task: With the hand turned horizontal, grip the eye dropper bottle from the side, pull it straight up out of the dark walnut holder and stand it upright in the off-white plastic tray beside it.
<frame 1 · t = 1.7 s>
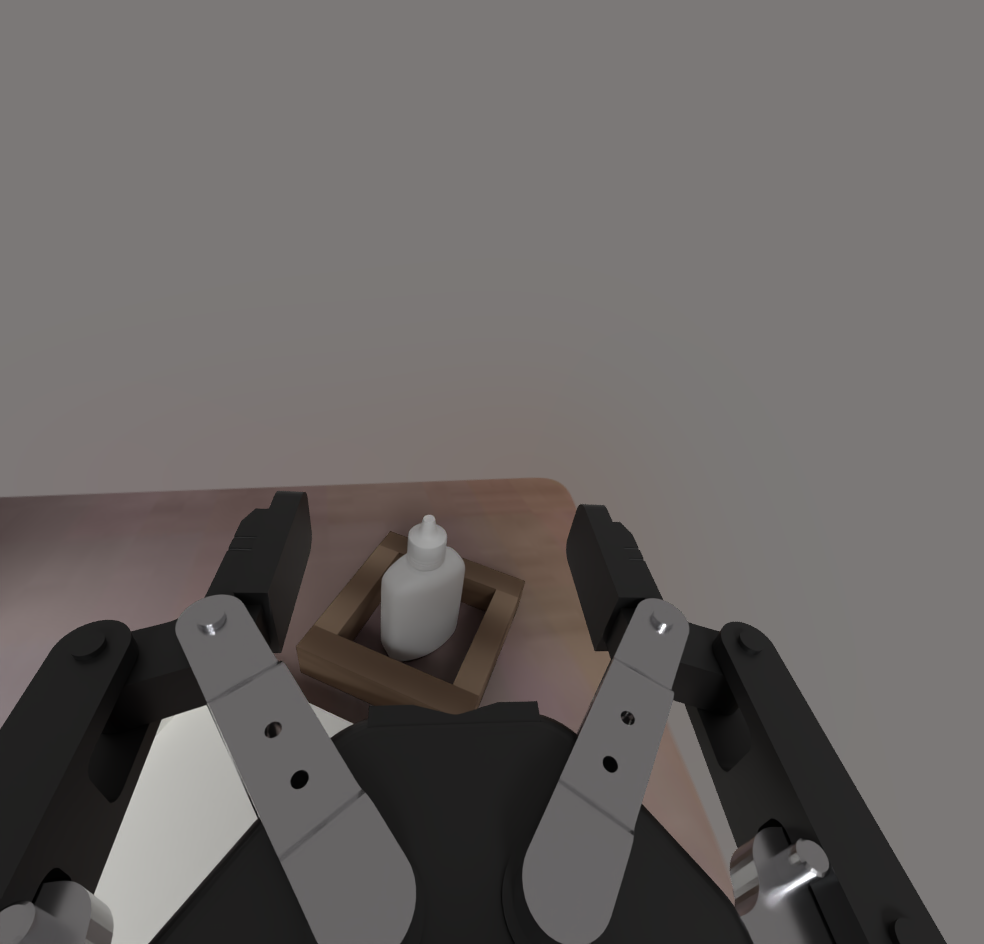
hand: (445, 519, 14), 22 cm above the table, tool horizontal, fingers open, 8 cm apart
walnut holder: (420, 635, 36), on the table
tray: (221, 865, 24), on the table
eye dropper bottle: (419, 638, 36), resting in walnut holder
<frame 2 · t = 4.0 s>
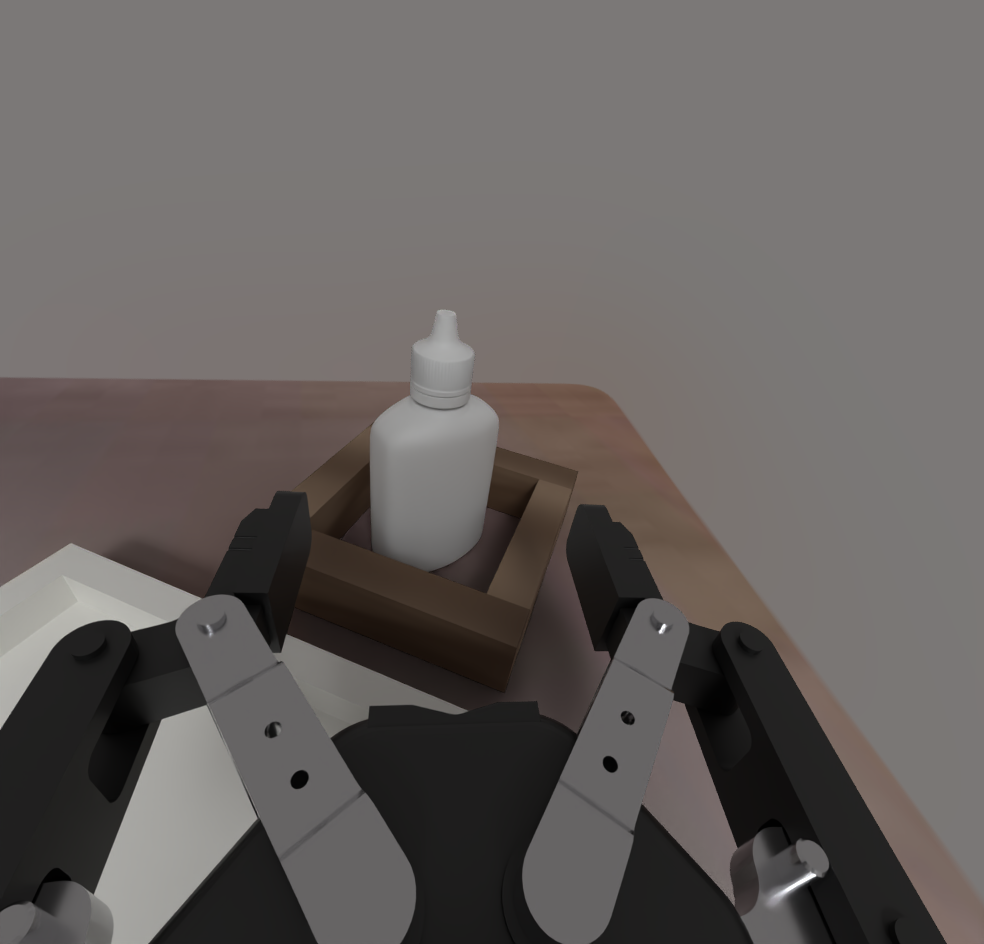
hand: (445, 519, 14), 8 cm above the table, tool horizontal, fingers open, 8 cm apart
walnut holder: (430, 544, 24), on the table
tray: (61, 901, 12), on the table
eye dropper bottle: (428, 548, 24), resting in walnut holder
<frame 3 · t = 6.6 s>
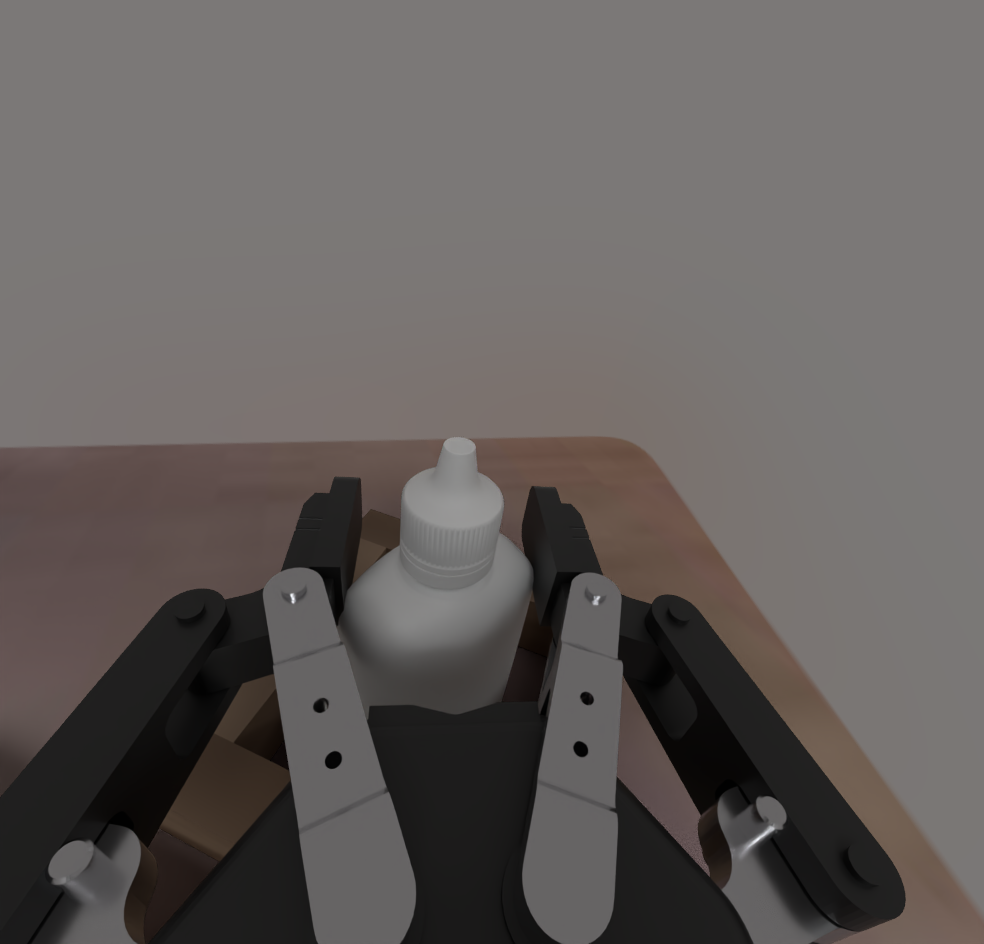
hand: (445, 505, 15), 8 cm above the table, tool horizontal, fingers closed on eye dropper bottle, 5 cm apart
walnut holder: (430, 716, 17), on the table
eye dropper bottle: (427, 722, 17), resting in walnut holder, touching gripper
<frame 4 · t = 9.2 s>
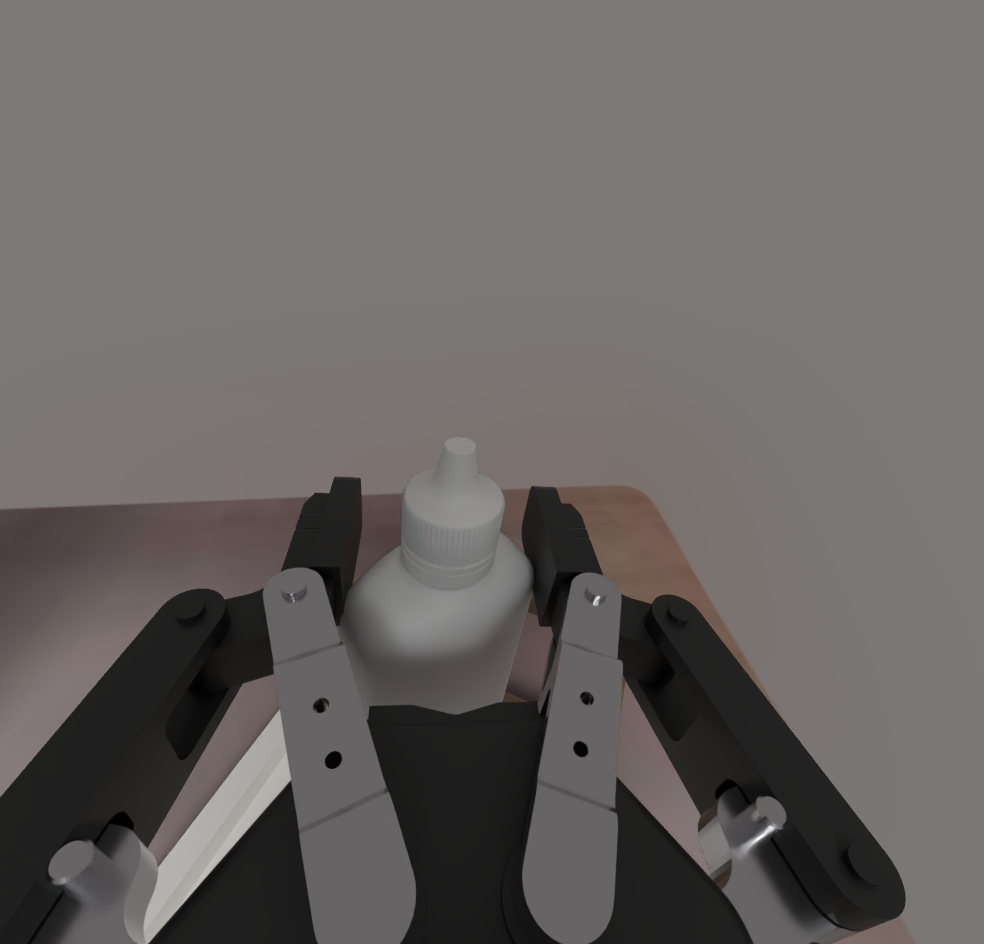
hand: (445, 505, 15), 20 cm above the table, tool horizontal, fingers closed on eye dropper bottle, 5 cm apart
walnut holder: (526, 663, 32), on the table
tray: (354, 943, 21), on the table
eye dropper bottle: (428, 722, 17), point 11 cm above the table, touching gripper
when the fingers open (10 cm above the table, at t = 12.2 s): eye dropper bottle stays where it is, resting on tray.
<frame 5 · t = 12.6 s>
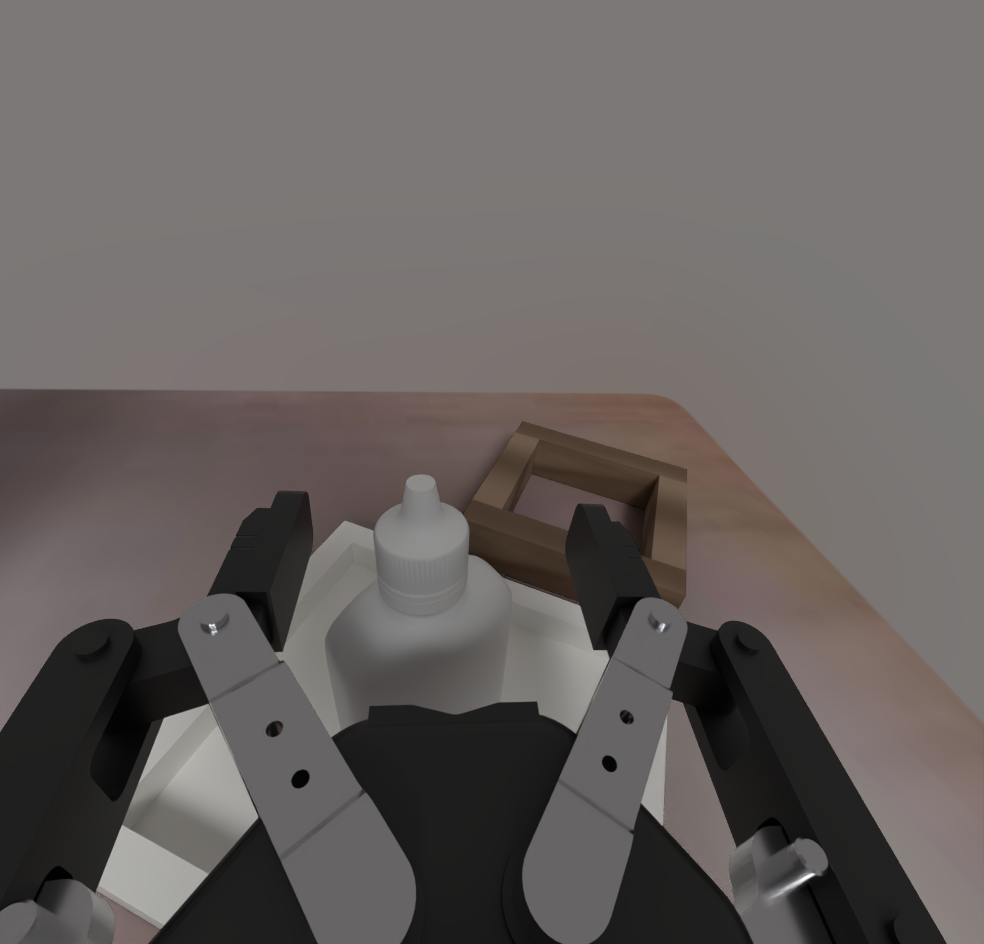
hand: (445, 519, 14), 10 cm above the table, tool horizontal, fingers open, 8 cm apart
walnut holder: (575, 526, 31), on the table
tray: (426, 748, 19), on the table
eye dropper bottle: (427, 744, 18), point 1 cm above the table, touching tray
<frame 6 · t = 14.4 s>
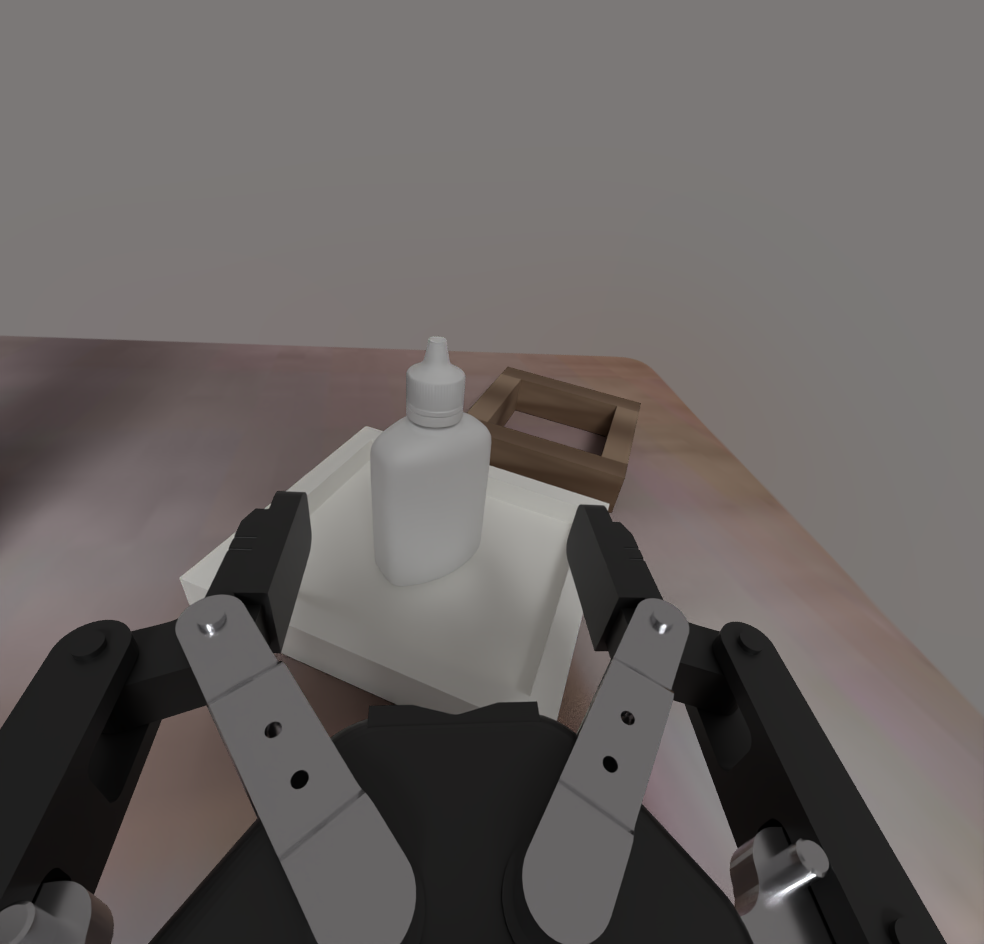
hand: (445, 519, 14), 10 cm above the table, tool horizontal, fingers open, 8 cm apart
walnut holder: (548, 445, 38), on the table
tray: (428, 567, 26), on the table
eye dropper bottle: (429, 559, 26), point 1 cm above the table, touching tray
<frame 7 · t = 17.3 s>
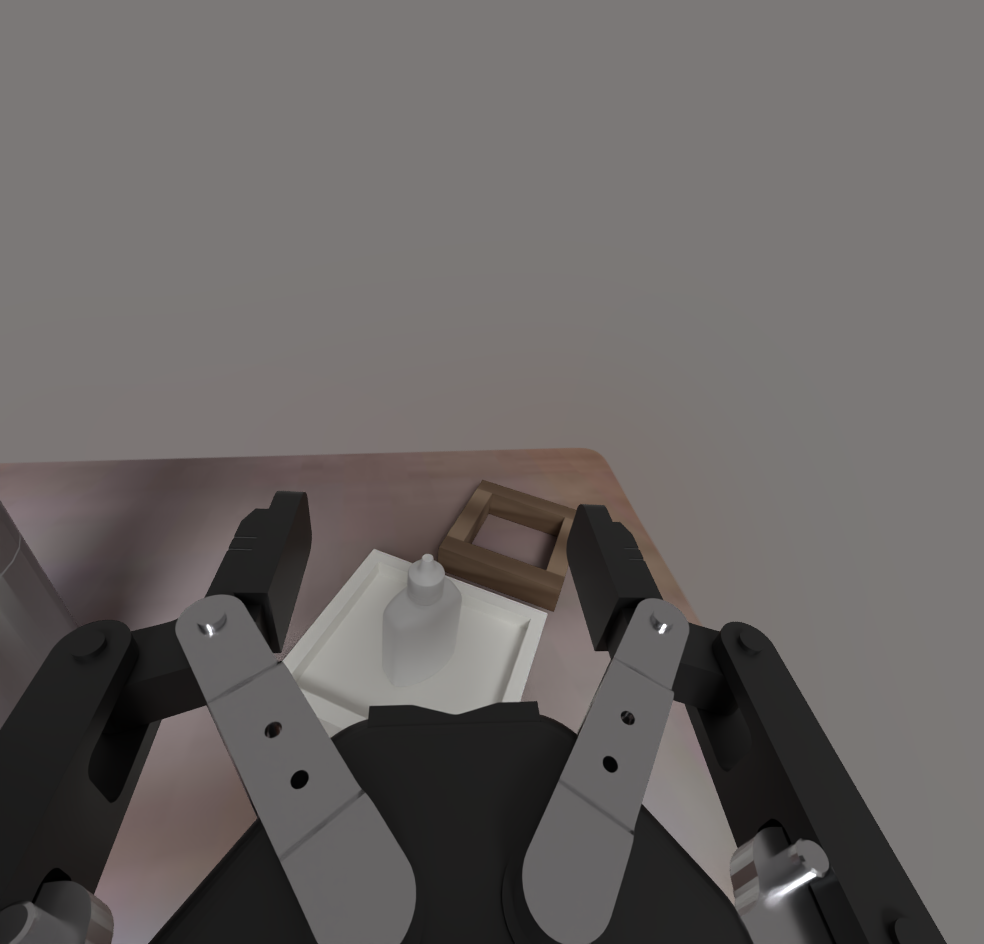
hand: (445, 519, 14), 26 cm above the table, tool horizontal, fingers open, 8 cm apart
walnut holder: (512, 549, 50), on the table
tray: (418, 665, 38), on the table
eye dropper bottle: (419, 662, 38), point 1 cm above the table, touching tray
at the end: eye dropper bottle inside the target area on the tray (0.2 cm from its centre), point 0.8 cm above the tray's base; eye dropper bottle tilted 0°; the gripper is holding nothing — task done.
